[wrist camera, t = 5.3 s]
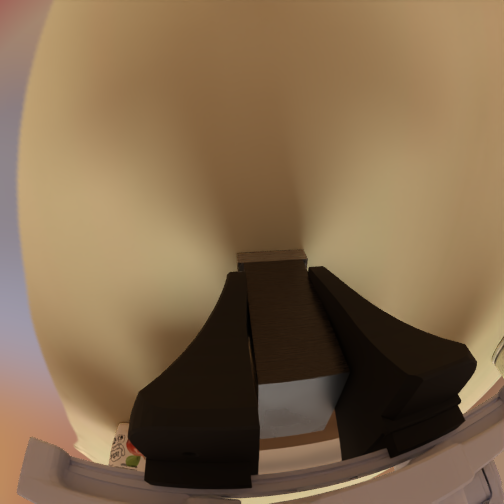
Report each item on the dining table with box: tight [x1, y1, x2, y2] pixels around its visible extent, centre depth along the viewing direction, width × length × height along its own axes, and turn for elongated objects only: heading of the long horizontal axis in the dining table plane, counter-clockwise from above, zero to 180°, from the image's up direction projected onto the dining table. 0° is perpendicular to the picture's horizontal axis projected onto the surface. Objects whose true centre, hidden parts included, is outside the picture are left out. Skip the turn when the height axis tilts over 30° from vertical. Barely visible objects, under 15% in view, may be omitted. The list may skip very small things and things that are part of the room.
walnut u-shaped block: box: [258, 410, 342, 475], centre depth 16 cm, size 8×12×6 cm
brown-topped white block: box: [237, 250, 350, 439], centre depth 13 cm, size 15×3×7 cm, turn 1°
